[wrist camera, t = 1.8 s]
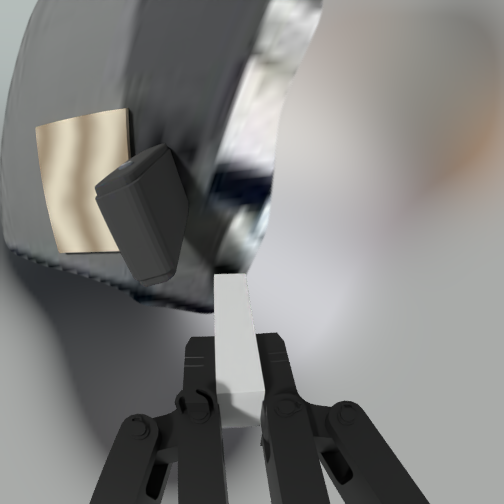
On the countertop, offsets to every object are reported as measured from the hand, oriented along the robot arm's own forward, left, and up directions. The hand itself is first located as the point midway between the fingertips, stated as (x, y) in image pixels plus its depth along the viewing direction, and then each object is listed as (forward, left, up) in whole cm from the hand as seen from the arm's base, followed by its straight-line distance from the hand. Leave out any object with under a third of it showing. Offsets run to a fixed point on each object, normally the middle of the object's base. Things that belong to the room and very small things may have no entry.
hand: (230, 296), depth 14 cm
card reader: (+7, 0, -22) cm, 23 cm away
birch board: (+17, 0, -22) cm, 28 cm away
